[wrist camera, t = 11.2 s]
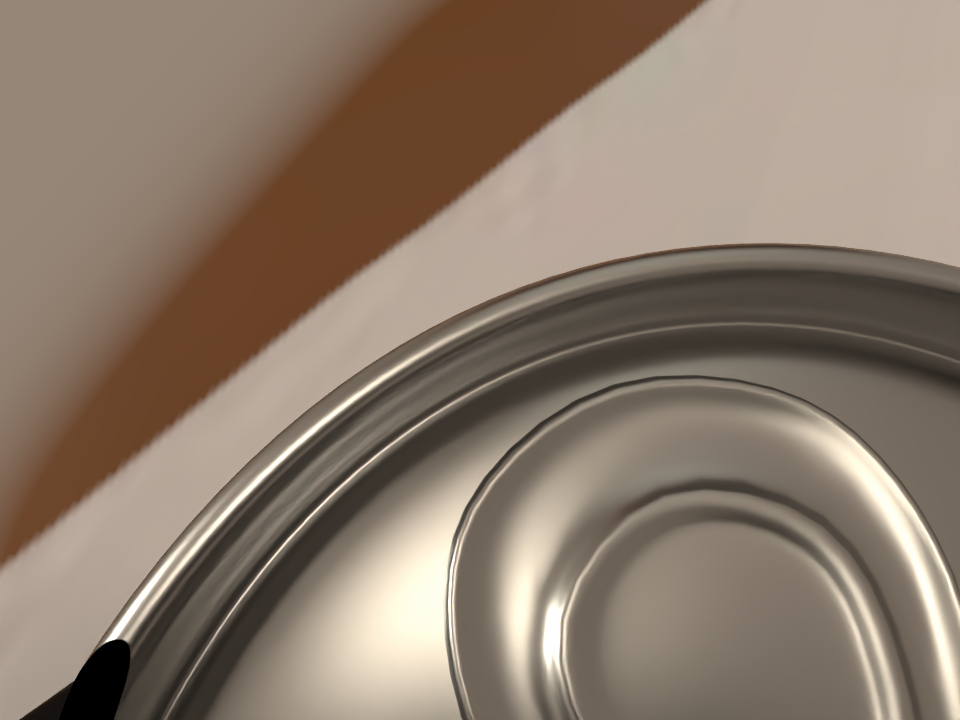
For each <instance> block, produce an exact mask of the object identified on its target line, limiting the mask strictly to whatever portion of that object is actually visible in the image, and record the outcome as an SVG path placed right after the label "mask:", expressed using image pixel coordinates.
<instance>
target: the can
mask: <svg viewBox="0 0 960 720" xmlns="http://www.w3.org/2000/svg"><path fill="white" fill-rule="evenodd" d="M59 720H960V267H955V266H951V265H947V264H943V263H938V262H934V261H929V260H924V259H919V258H914V257H909V256H903V255H898V254H891V253H885V252H878V251H872V250H864V249H855V248H846V247H837V246H824V245H810V244H783V243H752V244H726V245H709V246H700V247H690V248H680V249H673V250H666V251H659V252H653V253H646V254H641V255H636V256H631V257H626V258H620V259H615V260H611V261H607V262H603V263H599V264H595V265H591V266H587V267H583V268H579V269H576V270H572V271H569V272H566V273H562V274H559V275H555V276H552V277H549V278H546V279H543V280H540V281H537V282H535V283H532V284H529V285H526V286H523V287H520V288H518V289H515V290H513V291H510V292H508V293H505V294H503V295H500V296H498V297H495V298H493V299H490V300H488V301H486V302H483V303H481V304H479V305H477V306H475V307H472V308H470V309H468V310H466V311H464V312H461V313H459V314H457V315H455V316H453V317H451V318H449V319H447V320H446V321H444V322H442V323H440V324H438V325H436V326H434V327H432V328H430V329H428V330H426V331H425V332H423V333H421V334H419V335H417V336H416V337H414V338H412V339H410V340H409V341H407V342H405V343H403V344H402V345H400V346H398V347H397V348H395V349H394V350H392V351H390V352H389V353H387V354H386V355H384V356H382V357H381V358H379V359H378V360H376V361H375V362H373V363H371V364H370V365H368V366H367V367H365V368H364V369H363V370H361V371H360V372H358V373H357V374H355V375H354V376H352V377H351V378H350V379H348V380H347V381H345V382H344V383H342V384H341V385H340V386H338V387H337V388H336V389H334V390H333V391H332V392H330V393H329V394H328V395H326V396H325V397H324V398H323V399H321V400H320V401H319V402H317V403H316V404H315V405H313V406H312V407H311V408H310V409H308V410H307V411H306V412H305V413H303V414H302V415H301V416H300V417H299V418H298V419H296V420H295V421H294V422H293V423H292V424H290V425H289V426H288V427H287V428H286V429H284V430H283V431H282V432H281V433H280V434H279V435H277V436H276V437H275V438H274V439H273V440H272V441H271V442H270V443H269V444H268V445H267V446H265V447H264V448H263V449H262V450H261V451H260V452H259V453H258V454H257V455H256V456H255V457H253V458H252V459H251V460H250V461H249V462H248V463H247V464H246V465H245V466H244V467H243V468H242V469H241V470H240V471H239V472H238V473H237V474H236V475H235V476H234V477H233V478H232V479H231V480H230V481H229V482H228V483H227V484H226V485H225V486H224V487H223V488H222V489H221V490H220V491H219V492H218V493H217V494H216V495H215V497H214V498H213V499H212V500H211V501H210V502H209V503H208V504H207V505H206V506H205V507H204V509H203V510H202V511H201V512H200V513H199V514H198V515H197V516H196V517H195V518H194V519H193V521H192V522H191V523H190V524H189V525H188V526H187V527H186V529H185V530H184V531H183V532H182V533H181V535H180V536H179V537H178V538H177V539H176V540H175V542H174V543H173V544H172V545H171V546H170V548H169V549H168V550H167V551H166V552H165V554H164V555H163V556H162V557H161V558H160V560H159V561H158V562H157V563H156V565H155V566H154V567H153V569H152V570H151V571H150V573H149V574H148V575H147V576H146V578H145V579H144V580H143V582H142V583H141V584H140V585H139V587H138V588H137V589H136V591H135V592H134V593H133V595H132V596H131V597H130V599H129V600H128V601H127V603H126V604H125V606H124V607H123V608H122V610H121V611H120V613H119V614H118V615H117V617H116V618H115V620H114V621H113V623H112V624H111V625H110V627H109V628H108V630H107V631H106V632H105V634H104V635H103V637H102V638H101V640H100V641H99V643H98V644H97V646H96V647H95V649H94V650H93V652H92V653H91V655H90V657H89V658H88V660H87V661H86V663H85V664H84V666H83V667H82V669H81V670H80V672H79V674H78V676H77V677H76V679H75V681H74V683H73V685H72V687H71V690H70V692H69V694H68V697H67V699H66V701H65V704H64V707H63V709H62V712H61V715H60V718H59Z"/></svg>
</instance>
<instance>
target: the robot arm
mask: <svg viewBox="0 0 960 720" xmlns="http://www.w3.org/2000/svg"><path fill="white" fill-rule="evenodd" d="M73 683H74V681H73V682H72V683H71V684H69V685H68V686H66V687H65V688H63V689H62V690H61V691H59V692H58V693H56V694H55V695H54V696H52V697H51V698H49V699H48V700H47V701H45V702H44V703H42V704H41V705H39V706H38V707H37V708H35V709H34V710H32V711H31V712H30V713H28V714H27V715H25V716H24V717H22V718H21V719H20V720H59V718H60V715H61V712H62V709H63V707H64V704H65V701H66V699H67V697H68V694H69V692H70V690H71V687H72V685H73Z"/></svg>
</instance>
